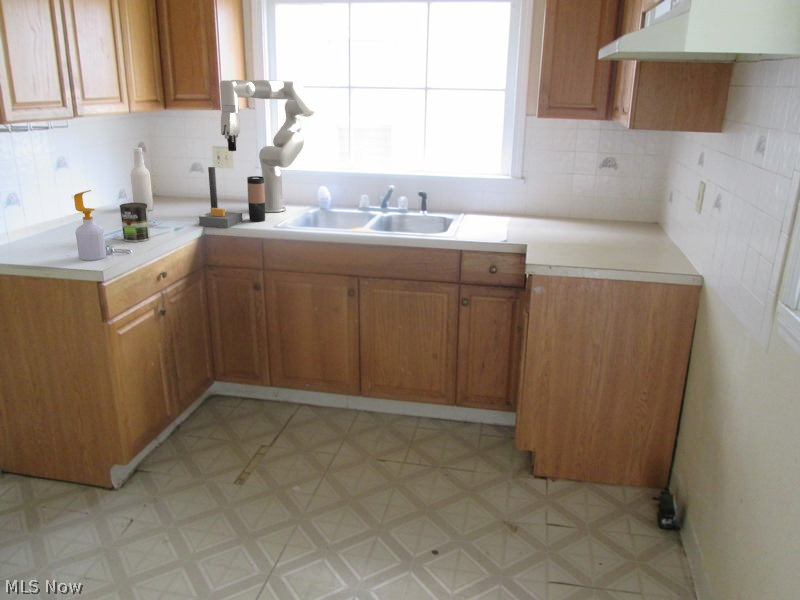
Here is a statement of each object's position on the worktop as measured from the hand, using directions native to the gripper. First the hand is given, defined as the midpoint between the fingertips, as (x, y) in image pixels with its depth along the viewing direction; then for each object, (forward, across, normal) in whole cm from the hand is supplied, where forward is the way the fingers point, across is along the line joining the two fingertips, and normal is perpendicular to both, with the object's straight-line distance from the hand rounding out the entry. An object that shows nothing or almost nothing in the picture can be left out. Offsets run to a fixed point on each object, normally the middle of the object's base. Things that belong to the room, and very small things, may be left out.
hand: (232, 150), depth 295 cm
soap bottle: (+31, +81, -15) cm, 88 cm away
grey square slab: (+31, +14, 0) cm, 34 cm away
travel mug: (+31, +2, +12) cm, 34 cm away
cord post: (+31, +2, -10) cm, 33 cm away
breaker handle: (+27, +16, 0) cm, 32 cm away
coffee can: (+31, +52, -17) cm, 63 cm away
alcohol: (+31, +1, -49) cm, 58 cm away
